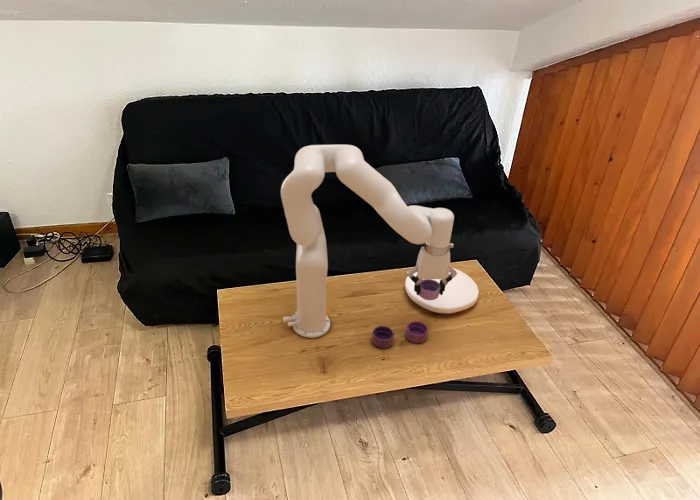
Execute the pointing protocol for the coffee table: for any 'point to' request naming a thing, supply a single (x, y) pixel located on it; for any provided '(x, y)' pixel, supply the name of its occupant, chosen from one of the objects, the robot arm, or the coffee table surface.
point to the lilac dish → (429, 289)
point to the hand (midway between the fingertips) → (428, 292)
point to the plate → (448, 294)
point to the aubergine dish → (382, 336)
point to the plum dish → (416, 332)
